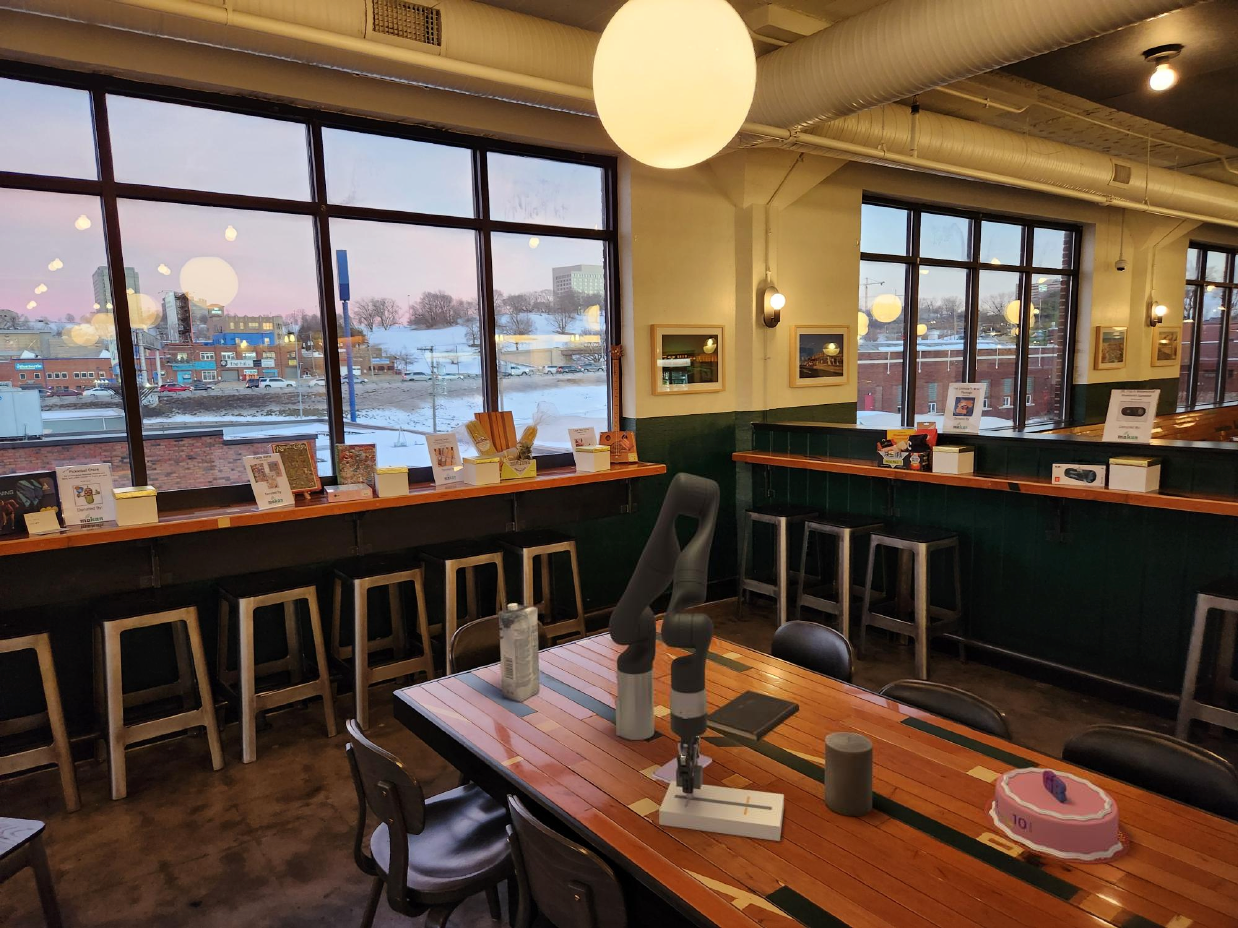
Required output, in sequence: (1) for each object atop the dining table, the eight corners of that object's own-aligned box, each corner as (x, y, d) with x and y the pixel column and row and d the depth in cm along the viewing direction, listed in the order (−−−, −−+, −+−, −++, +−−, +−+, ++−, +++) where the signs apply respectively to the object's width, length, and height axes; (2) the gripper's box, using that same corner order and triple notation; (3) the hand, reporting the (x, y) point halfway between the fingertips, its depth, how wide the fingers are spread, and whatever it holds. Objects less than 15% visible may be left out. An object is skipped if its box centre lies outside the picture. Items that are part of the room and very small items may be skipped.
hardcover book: (703, 726, 199) (703, 717, 199) (748, 697, 217) (748, 689, 216) (757, 743, 189) (757, 734, 189) (799, 711, 207) (799, 703, 206)
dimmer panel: (659, 824, 154) (659, 809, 153) (671, 793, 165) (671, 780, 165) (779, 840, 147) (779, 825, 147) (783, 807, 159) (783, 793, 158)
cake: (963, 793, 163) (964, 746, 162) (1080, 792, 162) (1082, 744, 161) (1022, 866, 138) (1024, 811, 137) (1161, 864, 138) (1164, 809, 137)
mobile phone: (649, 772, 173) (687, 748, 185) (649, 776, 173) (687, 752, 185) (676, 783, 168) (714, 757, 180) (676, 787, 168) (714, 761, 180)
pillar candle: (865, 821, 153) (866, 750, 152) (818, 808, 158) (818, 739, 157) (877, 799, 161) (878, 731, 160) (831, 787, 166) (832, 721, 165)
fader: (676, 799, 157) (676, 769, 156) (679, 791, 160) (679, 762, 159) (700, 802, 155) (700, 772, 155) (703, 794, 159) (702, 765, 158)
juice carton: (544, 691, 223) (541, 602, 221) (521, 704, 214) (517, 611, 212) (521, 685, 228) (517, 598, 225) (497, 698, 219) (493, 607, 217)
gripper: (677, 693, 164) (678, 769, 165) (663, 720, 150) (664, 803, 152) (711, 696, 161) (712, 773, 163) (700, 724, 148) (701, 808, 150)
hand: (689, 787), depth 157 cm, fingers closed on fader, 3 cm apart
